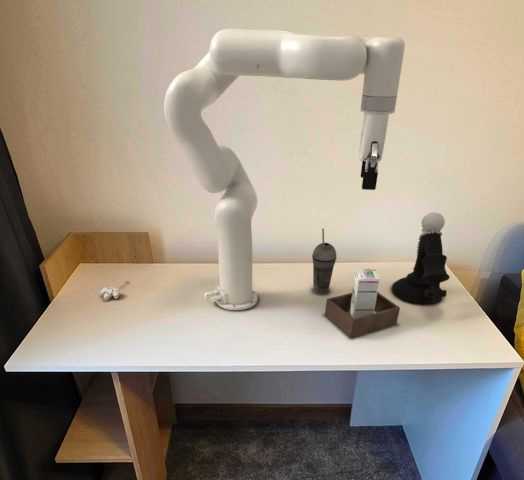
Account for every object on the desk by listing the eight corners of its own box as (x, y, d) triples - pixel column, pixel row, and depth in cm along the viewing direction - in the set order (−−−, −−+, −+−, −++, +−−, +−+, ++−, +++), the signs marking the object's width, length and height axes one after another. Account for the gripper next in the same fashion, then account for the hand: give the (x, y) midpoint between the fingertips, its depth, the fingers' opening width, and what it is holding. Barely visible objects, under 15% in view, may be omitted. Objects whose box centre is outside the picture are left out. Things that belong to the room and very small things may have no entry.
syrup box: (372, 325, 126) (381, 278, 117) (351, 325, 126) (358, 278, 117) (368, 314, 130) (377, 268, 122) (348, 314, 130) (355, 268, 122)
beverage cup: (331, 298, 138) (339, 235, 126) (307, 295, 139) (313, 232, 127) (333, 286, 144) (340, 225, 132) (310, 284, 145) (315, 223, 133)
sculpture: (433, 281, 147) (454, 205, 132) (459, 321, 128) (486, 237, 113) (386, 281, 147) (402, 204, 132) (405, 320, 128) (426, 236, 113)
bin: (350, 338, 121) (353, 321, 117) (324, 315, 130) (326, 298, 126) (396, 324, 126) (400, 307, 123) (368, 303, 135) (371, 287, 132)
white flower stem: (98, 300, 134) (96, 293, 133) (109, 282, 144) (107, 275, 142) (117, 301, 134) (115, 293, 133) (127, 283, 144) (125, 275, 142)
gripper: (360, 98, 108) (351, 172, 118) (362, 110, 94) (352, 193, 104) (392, 99, 107) (381, 174, 117) (399, 111, 93) (385, 195, 103)
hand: (367, 183), depth 111 cm, fingers open, 9 cm apart
